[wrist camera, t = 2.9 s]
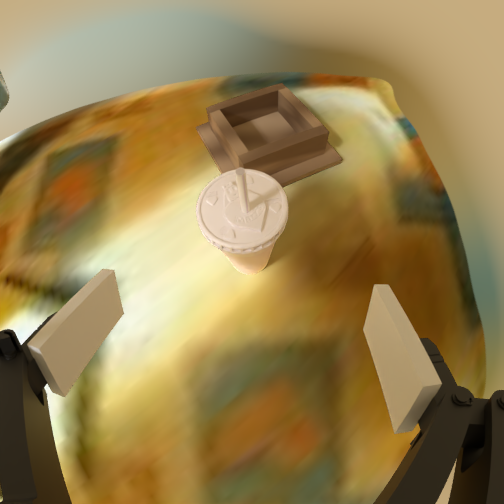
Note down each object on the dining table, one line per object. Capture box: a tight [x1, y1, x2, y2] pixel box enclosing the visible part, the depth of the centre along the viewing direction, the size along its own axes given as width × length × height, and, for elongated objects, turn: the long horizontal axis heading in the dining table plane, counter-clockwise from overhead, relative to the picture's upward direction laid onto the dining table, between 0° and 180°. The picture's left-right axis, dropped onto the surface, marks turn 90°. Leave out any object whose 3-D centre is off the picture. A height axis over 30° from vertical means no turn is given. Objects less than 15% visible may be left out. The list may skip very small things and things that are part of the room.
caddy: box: [196, 83, 342, 187], centre depth 32 cm, size 13×13×4 cm
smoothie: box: [196, 168, 288, 274], centre depth 22 cm, size 6×6×14 cm
